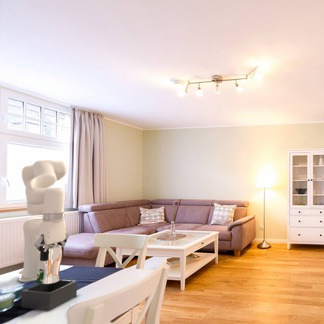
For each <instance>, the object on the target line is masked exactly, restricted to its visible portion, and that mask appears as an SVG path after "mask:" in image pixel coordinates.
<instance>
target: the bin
mask: <svg viewBox="0 0 324 324" xmlns="http://www.w3.org/2000/svg"><path fill="white" fill-rule="evenodd" d="M77 293H78V280H73V279H72V280H71V279H60V280H59V281H58V282H56V283H53V284H42V283H40V284H36V285H33V286H30V287H27V288H25V289H23V290H22V291H21V307H20V308H23V309H30V310H31V309H32V310H40V311H51V310H54V309H55V308H57V307H59V306H61V305H63V304H64V303H66V302H68V301H70V300H72V299H74V298H76V297H77V296H78V295H77Z"/></svg>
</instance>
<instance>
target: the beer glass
mask: <svg viewBox="0 0 324 324" xmlns="http://www.w3.org/2000/svg"><path fill="white" fill-rule="evenodd" d="M47 251H48V260H47V261H42V264H43V270H44V278H43V282H42V284H53V283H56V282H58V281H59V280H61V279H60V274H59V268H60V269H61V263H62V259H63V256H62V245H57V244H55V245H50V246H49V247H48V249H47Z"/></svg>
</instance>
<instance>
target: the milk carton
mask: <svg viewBox="0 0 324 324" xmlns="http://www.w3.org/2000/svg"><path fill="white" fill-rule="evenodd" d="M50 245H56V243H54V244H50ZM50 245H49V246H50ZM60 271H61V267H60V268H59V275H60ZM43 278H44V270H43V264H42V261H40V251H39V254H38V267H37V282H36V283H37V284H36V285H38V284H40V283H42V282H43Z"/></svg>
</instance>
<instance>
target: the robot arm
mask: <svg viewBox="0 0 324 324" xmlns="http://www.w3.org/2000/svg"><path fill="white" fill-rule="evenodd" d="M67 171H68V167H67V164H66V163H65V162H64V161H63V160H53V159H39V160H36V161H34V162H33V164H32V165H30V164H29V165H26V166H23V168H22V170H21V178H22V179H21V180H22V182H23V184H24V186H25V191H24V192H25V198H26V211H27V215H29V216H42V217H33V218H28V219H27V220H25V221H24V222H23V225H22V231H23V237H24V240H23V241H24V245H23V247H24V248H23V249H24V250H23V268H21V270H19V271H18V274H20V275H21V276H20V277H19V278H18V281H19V282H22V283H30V282H36V281H37V267H38V254H39V251H40V261H47V260H48V251H47V249H48V247H49V245H50V244H54V243H55V244H56V245H62V257H63V256H64V251H65V250H64V247H66V243H67V242H68V239H69V238H70V235H69V234H67V229H66V228H67V227H66V226H67V224H66V220H65V215H66V213H65V200H66V196H67V195H66V191H65V189H63V188H62V187H52V186H54V185H55V184H56V183H57V182H58V181H60V180H61V179H62V178H64V177H65V176H66V174H67Z"/></svg>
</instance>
